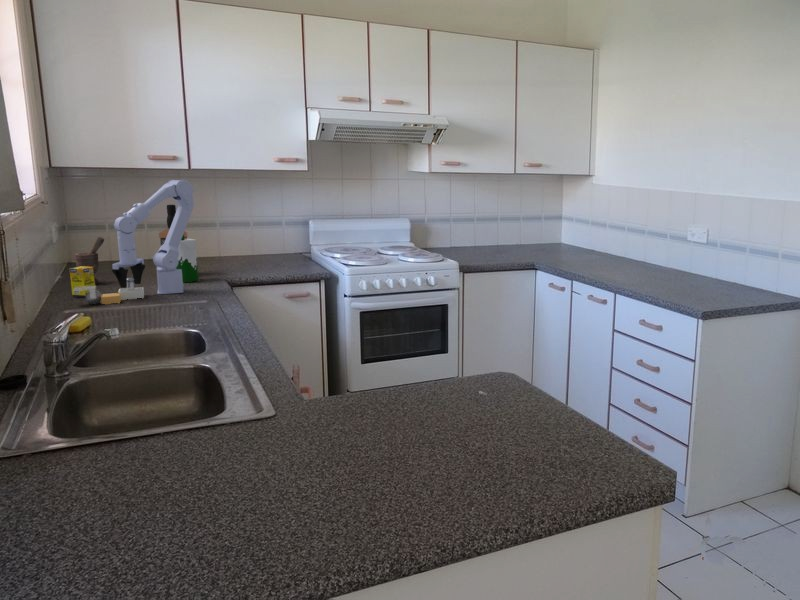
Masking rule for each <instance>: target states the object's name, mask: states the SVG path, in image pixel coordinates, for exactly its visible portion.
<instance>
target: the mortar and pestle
mask: <svg viewBox="0 0 800 600" xmlns="http://www.w3.org/2000/svg"><path fill="white" fill-rule="evenodd" d="M104 242H105V238H104V237H101V236H98V237H97V238H96V239H95V241H94V244H93V246H92V247H91V250H90V251H88V252H82V251H81V252H77V253H75V254H74V257H75V258H74V259H75V265H76V266H75V267H80V266H85V267H93V271H94V280H95V285H99V284H100V282H99V281H100V280H98V278H96V277H95V274H96V273H97V272H98V270H99V252H97V251H98V250H99V249H100V248H101V247H102V246H103V243H104Z"/></svg>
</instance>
